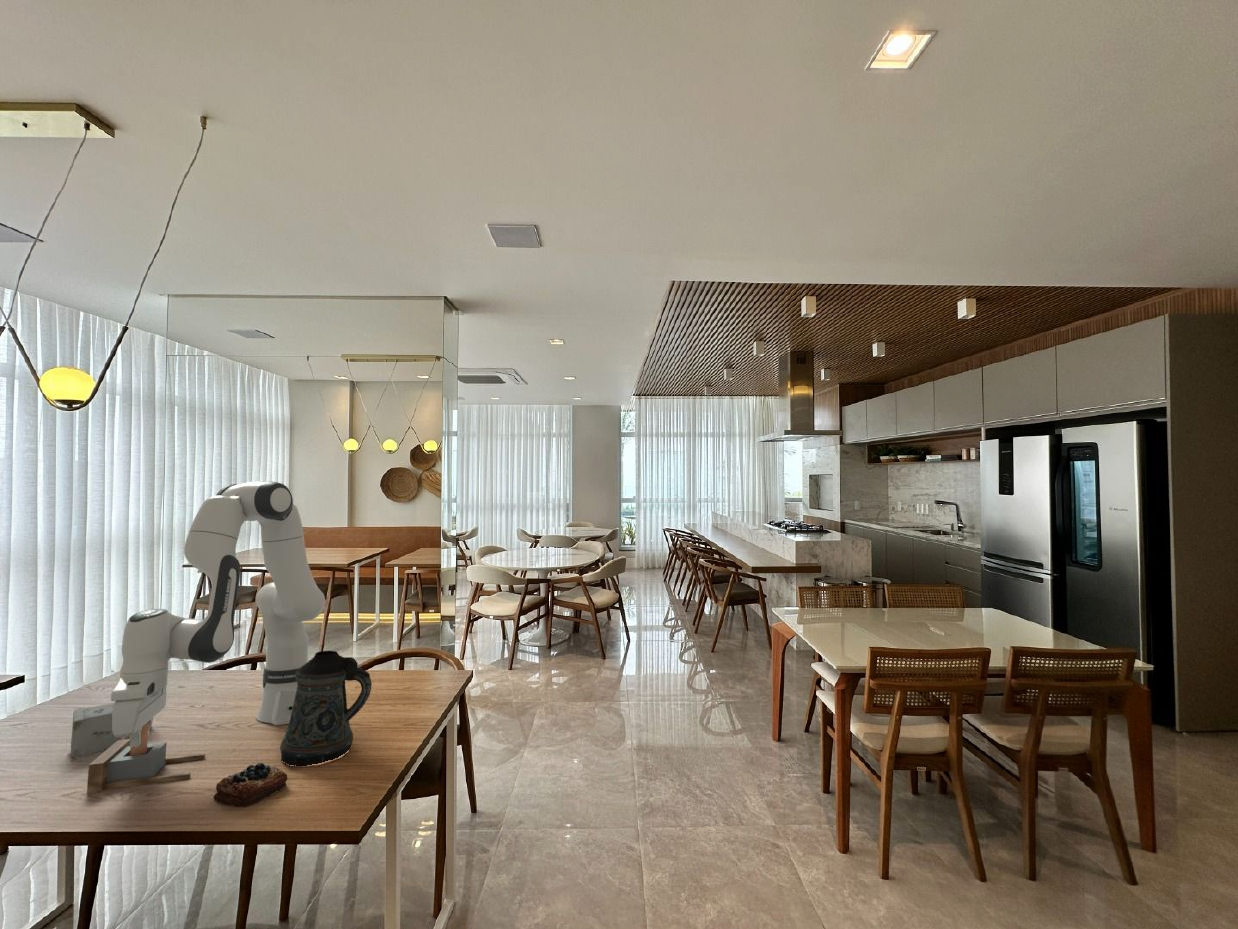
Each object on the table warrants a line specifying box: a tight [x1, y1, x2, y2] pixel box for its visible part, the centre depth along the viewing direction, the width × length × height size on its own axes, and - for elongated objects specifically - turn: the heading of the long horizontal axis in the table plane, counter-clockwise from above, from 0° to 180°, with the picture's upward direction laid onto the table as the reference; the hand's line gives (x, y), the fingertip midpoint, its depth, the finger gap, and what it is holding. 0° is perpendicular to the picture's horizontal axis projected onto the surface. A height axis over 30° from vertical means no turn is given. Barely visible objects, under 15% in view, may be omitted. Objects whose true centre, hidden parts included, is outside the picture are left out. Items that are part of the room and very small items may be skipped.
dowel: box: [130, 721, 149, 756], centre depth 136 cm, size 3×3×12 cm
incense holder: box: [69, 702, 123, 759], centre depth 149 cm, size 10×8×10 cm
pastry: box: [213, 762, 288, 808], centre depth 128 cm, size 11×12×6 cm
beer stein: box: [279, 650, 372, 767], centre depth 150 cm, size 16×19×25 cm
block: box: [107, 741, 167, 783], centre depth 136 cm, size 8×9×5 cm
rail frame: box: [86, 738, 206, 794], centre depth 136 cm, size 18×14×6 cm
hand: (139, 742), depth 136 cm, fingers closed on dowel, 3 cm apart
